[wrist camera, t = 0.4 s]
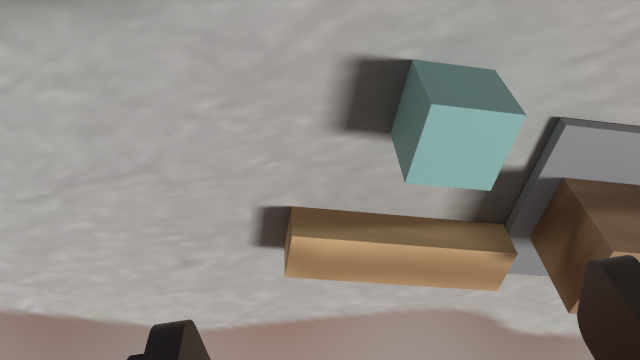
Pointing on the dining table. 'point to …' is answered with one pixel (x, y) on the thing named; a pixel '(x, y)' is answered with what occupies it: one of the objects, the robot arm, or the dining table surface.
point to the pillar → (586, 231)
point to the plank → (396, 249)
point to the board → (570, 176)
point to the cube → (454, 126)
